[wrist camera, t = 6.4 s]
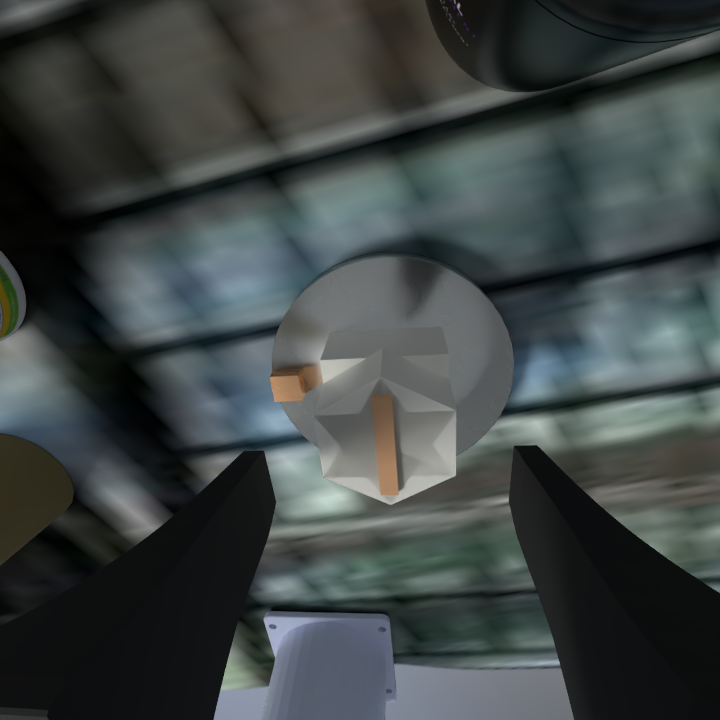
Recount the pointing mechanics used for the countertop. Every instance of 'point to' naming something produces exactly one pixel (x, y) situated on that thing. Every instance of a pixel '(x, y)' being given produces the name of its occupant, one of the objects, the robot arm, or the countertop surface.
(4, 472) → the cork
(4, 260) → the supplement bottle
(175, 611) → the robot arm
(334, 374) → the white faceted lump
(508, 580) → the countertop surface
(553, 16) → the supplement bottle
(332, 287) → the knobbed pot lid
